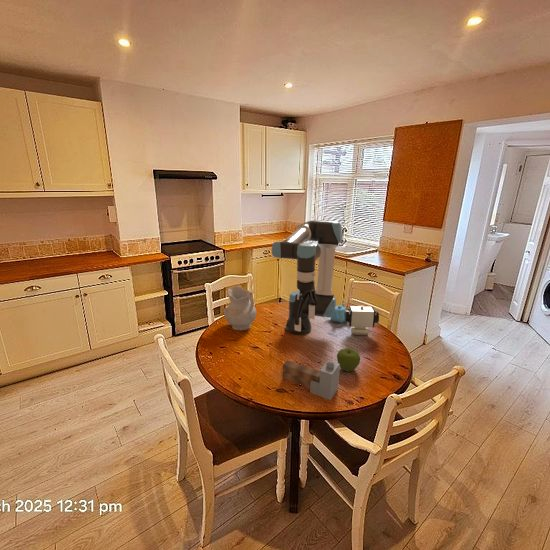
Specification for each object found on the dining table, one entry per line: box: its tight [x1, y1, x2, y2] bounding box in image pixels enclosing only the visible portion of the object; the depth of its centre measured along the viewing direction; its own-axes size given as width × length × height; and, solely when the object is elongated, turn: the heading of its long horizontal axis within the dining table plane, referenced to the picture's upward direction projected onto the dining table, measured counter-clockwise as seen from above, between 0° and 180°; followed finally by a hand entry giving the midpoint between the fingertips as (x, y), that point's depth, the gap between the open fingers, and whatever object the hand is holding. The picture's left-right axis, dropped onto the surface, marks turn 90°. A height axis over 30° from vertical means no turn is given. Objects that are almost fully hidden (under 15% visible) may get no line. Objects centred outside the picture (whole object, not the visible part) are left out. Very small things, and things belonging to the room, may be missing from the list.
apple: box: [336, 347, 361, 372], centre depth 138 cm, size 11×10×10 cm
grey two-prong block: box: [309, 359, 341, 401], centre depth 123 cm, size 9×8×14 cm
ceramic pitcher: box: [223, 285, 257, 331], centre depth 178 cm, size 22×20×25 cm
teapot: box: [330, 301, 347, 324], centre depth 188 cm, size 13×13×10 cm
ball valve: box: [344, 305, 380, 336], centre depth 170 cm, size 18×8×18 cm, turn 84°
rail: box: [282, 359, 320, 389], centre depth 129 cm, size 18×4×7 cm, turn 57°
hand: (304, 324), depth 134 cm, fingers open, 13 cm apart
